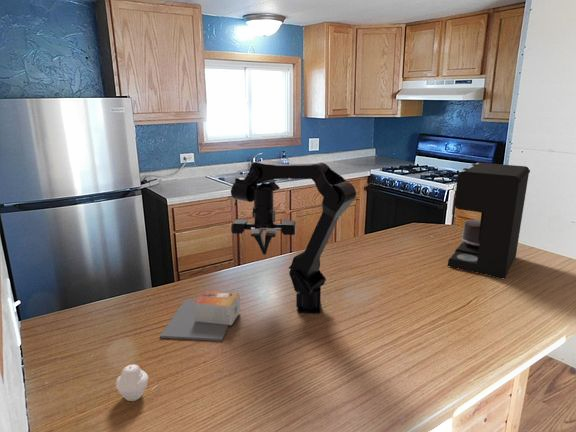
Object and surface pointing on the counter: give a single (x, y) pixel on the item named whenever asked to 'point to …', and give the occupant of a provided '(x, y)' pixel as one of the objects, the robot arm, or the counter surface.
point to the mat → (192, 326)
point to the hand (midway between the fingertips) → (264, 254)
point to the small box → (217, 307)
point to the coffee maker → (490, 217)
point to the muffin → (132, 382)
